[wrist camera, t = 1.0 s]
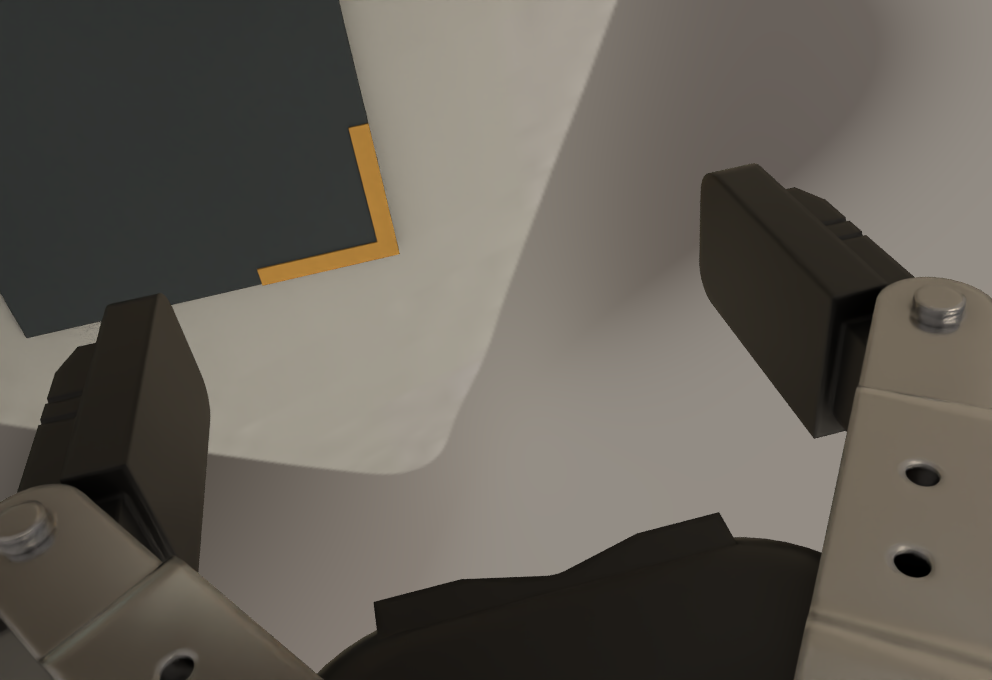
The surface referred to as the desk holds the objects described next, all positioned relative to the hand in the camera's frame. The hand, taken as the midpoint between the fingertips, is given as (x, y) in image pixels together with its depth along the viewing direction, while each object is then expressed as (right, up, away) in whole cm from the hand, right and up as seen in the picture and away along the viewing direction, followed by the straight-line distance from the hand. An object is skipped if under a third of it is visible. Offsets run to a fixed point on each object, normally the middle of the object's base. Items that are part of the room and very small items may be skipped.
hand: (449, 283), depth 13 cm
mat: (-13, +9, +19) cm, 24 cm away
